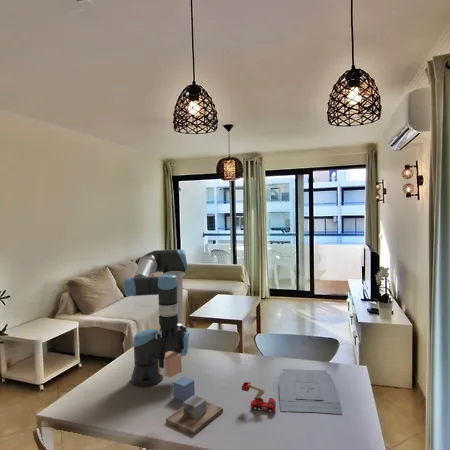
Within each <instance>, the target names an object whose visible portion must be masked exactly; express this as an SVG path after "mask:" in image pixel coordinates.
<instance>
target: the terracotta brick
mask: <svg viewBox="0 0 450 450" xmlns="http://www.w3.org/2000/svg"><path fill="white" fill-rule="evenodd" d="M164 359H166V373H167V376H166V377H167V378H172V377H174V376H176V375H179V374H180V373H182V372H183V371H182V366H183V365H182V356H181V354H179V353H175V352H172V351H169V352H166V353H165V358H164ZM158 367H159V360H158ZM159 374H161V373H160V367H159Z"/></svg>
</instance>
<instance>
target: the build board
mask: <svg viewBox="0 0 450 450" xmlns="http://www.w3.org/2000/svg"><path fill="white" fill-rule="evenodd" d="M182 404H183V405H182V406H183V407H181V408H180V409H178V410H177V411H175V412H174V413H173V414H170V415H169V416H168V417H166V418H165V424H168V425H170V426H172V427H174V428H177V429H179V430H181V431H182V432H185V433H188V434H189V435H191V436H195V435H197V433H199V432H200V431H201V430H203V429H204V428H205V427H206V426H207V425H208V424H210V423H212V421H213V420H215V419H216V418H217V417H219V415H221V414H222V413H223V412H224V408H223V407H221V406H219V405H216V404H213V403H211V402H208V401H207V399H205V398H203V397H200V396H198V395H193V396H192V397H190V398H189V399H187V400H186V401H184V402H183V401H182Z"/></svg>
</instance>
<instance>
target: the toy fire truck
mask: <svg viewBox="0 0 450 450" xmlns="http://www.w3.org/2000/svg"><path fill="white" fill-rule="evenodd" d="M251 383H252V382H250V381H248V382H247V381H246V382H243V384H242V385H241V391H243V392H249V390H250V389H253V390H255V391H258V392H257V393H256V395H255V396H254V398H253V399H252V400H251V402H250V409H252V410H255V411H256V410H258V411H259V412H260V411H265V412H269V413H274V412H276V409H277V408H276V407H277V403H276V400H275V399H274V398H273V397H269V399H268V401H264V398H262V396H263V395H265V391H266V390H264V389H263V387H261V388H260V387H257V386H256V385H253V384H251Z"/></svg>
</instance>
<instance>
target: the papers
mask: <svg viewBox="0 0 450 450" xmlns="http://www.w3.org/2000/svg"><path fill="white" fill-rule="evenodd" d="M278 378H279V379H278V380H279V382H278V383H279V384H278V385H279V387H278V388H279V407H280V411H281V412H294V413H295V412H300V413H301V412H304V413H307V412H309V413H310V412H311V413H321V414H322V413H323V414H332V415H333V414H335V415H343V411H342V406H341V401H340V399H339V398H340V397H339V395H338V392H337V389H336V385H335V382H334V379H333V378H332V376H331V374H328V371H327V370H325V369H295V368H293V369H292V368H282V372H280V373H279V377H278Z"/></svg>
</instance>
